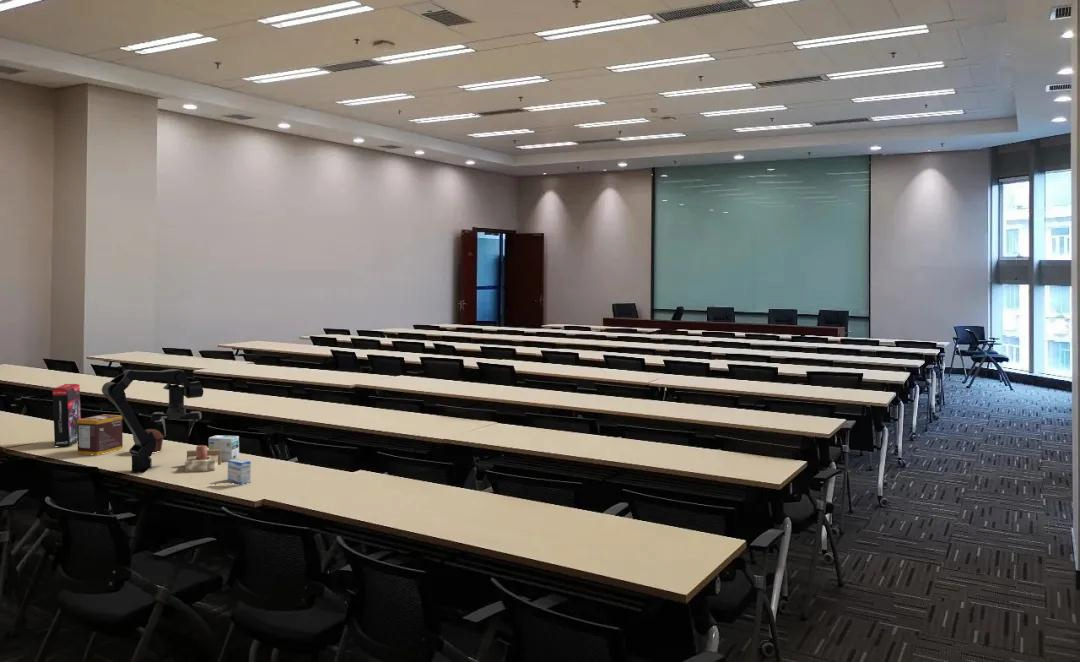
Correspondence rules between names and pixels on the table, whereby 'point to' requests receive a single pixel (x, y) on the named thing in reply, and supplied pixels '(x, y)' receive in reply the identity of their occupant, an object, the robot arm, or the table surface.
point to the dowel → (201, 452)
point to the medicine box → (239, 471)
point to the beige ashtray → (201, 463)
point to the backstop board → (209, 452)
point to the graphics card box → (66, 414)
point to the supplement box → (99, 434)
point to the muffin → (159, 439)
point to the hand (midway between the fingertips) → (176, 436)
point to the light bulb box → (225, 446)
